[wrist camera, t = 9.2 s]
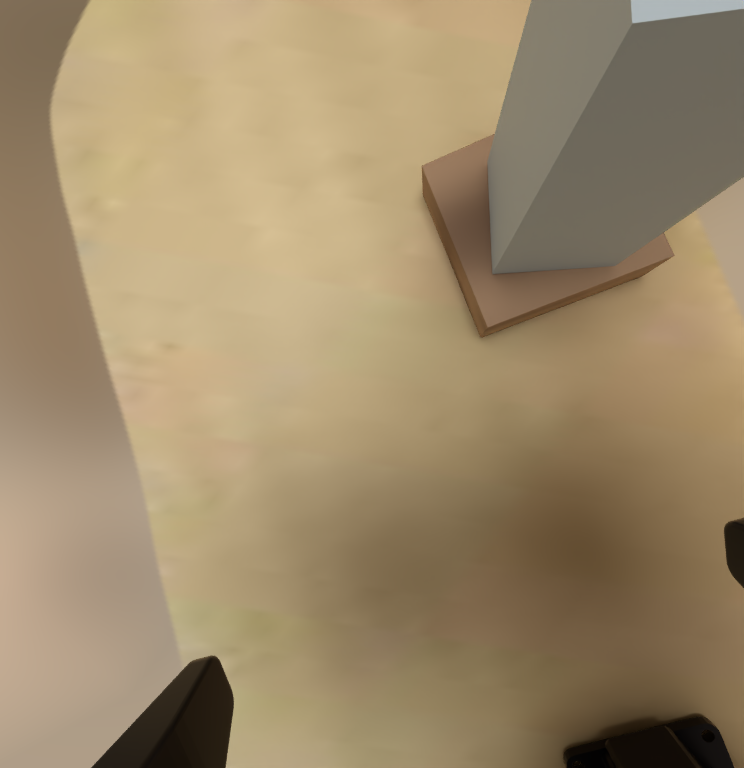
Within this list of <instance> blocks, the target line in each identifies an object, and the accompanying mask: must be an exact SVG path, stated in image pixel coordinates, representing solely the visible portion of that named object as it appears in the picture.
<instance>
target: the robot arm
mask: <svg viewBox="0 0 744 768" xmlns="http://www.w3.org/2000/svg"><path fill="white" fill-rule="evenodd" d="M724 536H725V548H726V560H727V565H728V568H729V570H730V572H731V574H732V575H733V577H734V578H735V579H736V580H737V581H738V582H739V584H740V585H741V586H742V587H743V588H744V518H741V519H737V520H733V521H730V522H728V523H727V524H726V525H725V527H724ZM233 708H234V699H233V692H232V689H231V687H230V684H229V682H228V680H227V677H226V675H225V672H224V670H223V667H222V665H221V662H220V660H219V659H218V658H217V657H216V656H208V657H204V658H200V659H196V660H193V661H192V662H190V663H189V664H188V665H187V666H186V667H185V668H184V669H183V670H182V671H181V672H180V673H179V675H178V676H177V677H176V678H175V679H174V680H173V681H172V682H171V683H170V684H169V685H168V686H167V687H166V688H165V689H164V691H163V692H162V693H161V694H160V695H159V696H158V697H157V698H156V699H155V700H154V701H153V702H152V703H151V704H150V706H149V707H148V708H147V709H146V710H145V711H144V712H143V713H142V714H141V715H140V716H139V717H138V718H137V719H136V721H135V722H134V723H133V724H132V725H131V726H130V727H129V728H128V729H127V730H126V731H125V732H124V733H123V734H122V735H121V737H120V738H119V739H118V740H117V741H116V742H115V743H114V744H113V745H112V746H111V747H110V748H109V749H108V750H107V751H106V753H105V754H104V755H103V756H102V757H101V758H100V759H99V760H98V761H97V762H96V763H95V764H94V765H93V766H92V768H226V761H227V753H228V746H229V738H230V731H231V723H232V716H233ZM704 730H708V732H707V734H705V735H701V734H702V732H703V731H704ZM563 758H564V763H565V766H566V768H734V766H733V763H732V761H731V758H730V756H729V753H728V751H727V748H726V746H725V744H724V741H723V739H722V736H721V734H720V732H719V730H718V729H717V728H716V726H715V725H714V724H713V723H712V722H711V721H710V720H708V719H707V718H705V717H694V718H690V719H686V720H682V721H678V722H674V723H670V724H666V725H662V726H658V727H654V728H650V729H646V730H642V731H638V732H634V733H629V734H625V735H621V736H617V737H613V738H609V739H605V740H601V741H597V742H593V743H589V744H585V745H581V746H577V747H573V748H570V749H568V750H567V751H566V752H565V753H564V757H563ZM576 761H580V762H581V763H580V765H578V766H574V765H573V763H574V762H576Z"/></svg>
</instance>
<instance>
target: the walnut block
mask: <svg viewBox="0 0 744 768" xmlns="http://www.w3.org/2000/svg"><path fill="white" fill-rule="evenodd" d="M494 135H495V134H493V135H491V136H489V137H486V138H484V139H482V140H480V141H477V142H475V143H473V144H470V145H468V146H466V147H464V148H461V149H459V150H457V151H454V152H452V153H450V154H448V155H445V156H443V157H441V158H438V159H436V160H434V161H432V162H429V163H427V164H425V165H422V183H423V196H424V199H425V201H426V203H427V206H428V208H429V211H430V213H431V216H432V218H433V221H434V223H435V226H436V228H437V231H438V233H439V236H440V238H441V241H442V243H443V246H444V248H445V250H446V253H447V255H448V258H449V260H450V263H451V265H452V268H453V270H454V273H455V275H456V278H457V280H458V283H459V285H460V288H461V290H462V292H463V295H464V297H465V300H466V302H467V305H468V307H469V310H470V312H471V315H472V317H473V320H474V322H475V325H476V327H477V330H478V332H479V335H480V337H484V336H487V335H489V334H492V333H494V332H497V331H500V330H502V329H505V328H508V327H510V326H513V325H515V324H518V323H521V322H523V321H526V320H529V319H531V318H534V317H536V316H539V315H542V314H544V313H547V312H549V311H552V310H555V309H557V308H560V307H563V306H565V305H568V304H570V303H573V302H576V301H578V300H581V299H583V298H586V297H589V296H591V295H594V294H597V293H599V292H602V291H604V290H607V289H610V288H612V287H615V286H617V285H620V284H623V283H625V282H628V281H631V280H633V279H636V278H638V277H641V276H643V275H645V274H646V273H648V272H649V271H651V270H653V269H654V268H656V267H657V266H659V265H660V264H662V263H663V262H665V261H667V260H668V259H670V258H671V257H673V256H674V253H673V251H672V249H671V247H670V245H669V243H668V241H667V239H666V236H665V234H664V232H663V233H662V234H661V235H659V236H658V237H656V238H655V239H653V240H652V241H650V242H649V243H648V244H646V245H645V246H643V247H642V248H640V249H639V250H637V251H636V252H635V253H633V254H632V255H630V256H629V257H627V258H626V259H624V260H623V261H622V262H620V263H619V264H617V265H616V266H607V267H593V268H578V269H563V270H547V271H532V272H517V273H502V274H492V256H491V233H490V210H489V187H488V164H487V161H488V157H489V154H490V150H491V146H492V143H493V139H494Z"/></svg>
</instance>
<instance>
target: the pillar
mask: <svg viewBox="0 0 744 768" xmlns="http://www.w3.org/2000/svg"><path fill="white" fill-rule="evenodd" d="M487 164H488V187H489V210H490V233H491V256H492V274H502V273H517V272H532V271H547V270H563V269H578V268H593V267H607V266H616V265H617V264H619V263H620V262H622V261H623V260H624V259H626V258H627V257H629V256H630V255H632V254H633V253H635V252H636V251H637V250H639V249H640V248H642V247H643V246H645V245H646V244H648V243H649V242H650V241H652V240H653V239H655V238H656V237H658V236H659V235H661V234H662V233H663V232H665V231H666V230H668V229H669V228H671V227H672V226H674V225H675V224H676V223H678V222H679V221H681V220H682V219H684V218H685V217H687V216H688V215H689V214H691V213H692V212H694V211H695V210H697V209H698V208H700V207H701V206H702V205H704V204H705V203H707V202H708V201H710V200H711V199H712V198H714V197H715V196H717V195H718V194H720V193H721V192H722V191H724V190H726V189H727V188H728V187H730V186H731V185H733V184H734V183H735V182H737V181H739V180H740V179H741V178H743V177H744V0H531V4H530V7H529V11H528V15H527V18H526V22H525V26H524V29H523V33H522V37H521V40H520V44H519V48H518V51H517V55H516V59H515V62H514V66H513V70H512V73H511V77H510V81H509V84H508V88H507V91H506V95H505V99H504V102H503V106H502V110H501V113H500V117H499V121H498V124H497V128H496V132H495V135H494V139H493V143H492V146H491V150H490V154H489V157H488V161H487Z"/></svg>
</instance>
